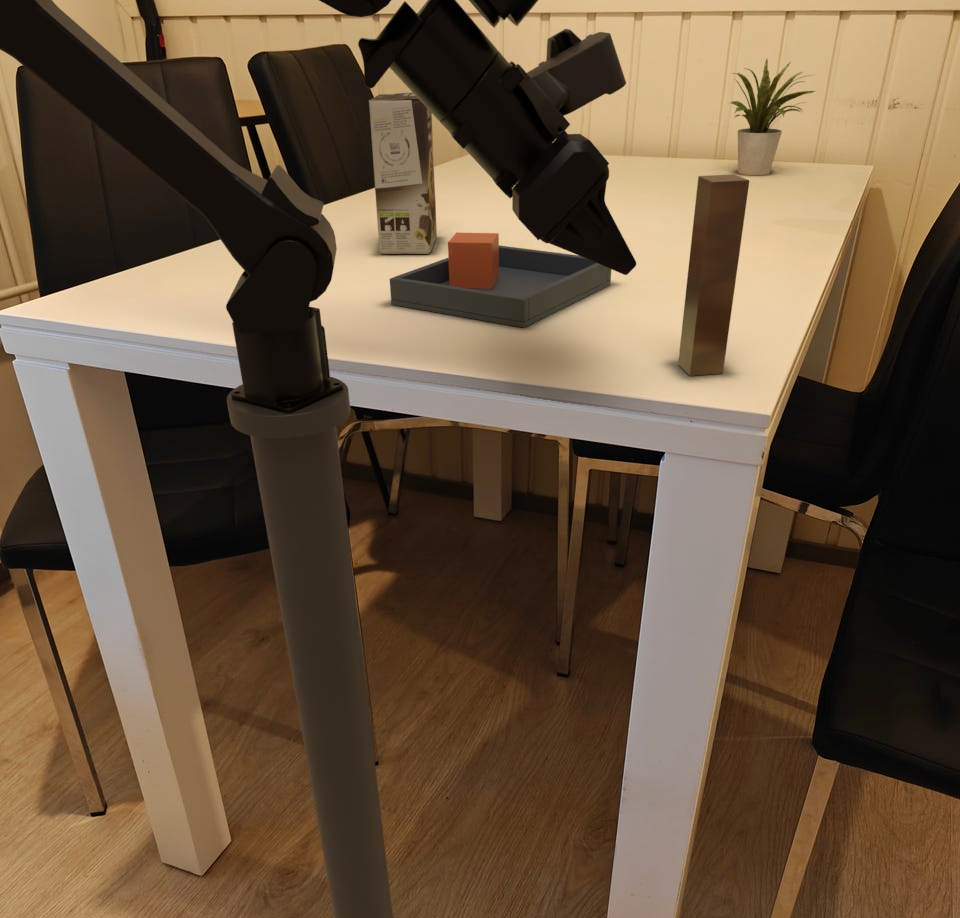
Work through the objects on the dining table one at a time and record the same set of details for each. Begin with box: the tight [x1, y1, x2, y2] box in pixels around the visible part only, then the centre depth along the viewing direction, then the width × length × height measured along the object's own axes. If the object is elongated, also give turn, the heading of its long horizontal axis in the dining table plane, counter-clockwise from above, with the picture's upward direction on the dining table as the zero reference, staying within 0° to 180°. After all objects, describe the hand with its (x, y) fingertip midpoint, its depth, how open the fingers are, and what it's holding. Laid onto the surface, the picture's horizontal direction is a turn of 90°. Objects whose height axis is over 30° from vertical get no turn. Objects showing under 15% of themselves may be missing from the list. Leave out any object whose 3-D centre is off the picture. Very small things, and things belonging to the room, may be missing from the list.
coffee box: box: [368, 92, 438, 255], centre depth 107 cm, size 9×6×16 cm
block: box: [447, 232, 500, 289], centre depth 94 cm, size 4×4×4 cm
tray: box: [389, 244, 612, 328], centre depth 93 cm, size 18×16×2 cm
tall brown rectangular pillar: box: [677, 173, 750, 377], centre depth 70 cm, size 3×3×14 cm
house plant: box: [729, 58, 816, 176], centre depth 147 cm, size 14×14×16 cm
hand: (617, 254), depth 68 cm, fingers open, 9 cm apart
